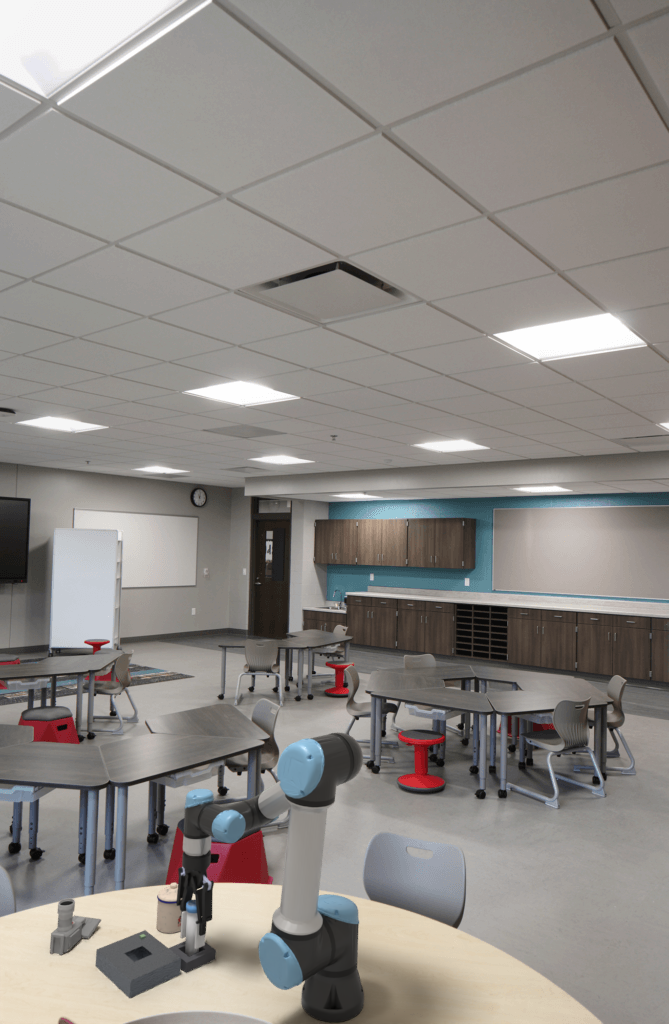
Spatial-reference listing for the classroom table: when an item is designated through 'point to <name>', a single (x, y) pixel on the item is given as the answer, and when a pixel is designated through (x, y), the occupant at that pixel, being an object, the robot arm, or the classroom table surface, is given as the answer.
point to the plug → (191, 928)
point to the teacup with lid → (168, 910)
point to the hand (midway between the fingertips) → (192, 941)
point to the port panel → (137, 963)
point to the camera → (70, 928)
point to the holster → (194, 956)
